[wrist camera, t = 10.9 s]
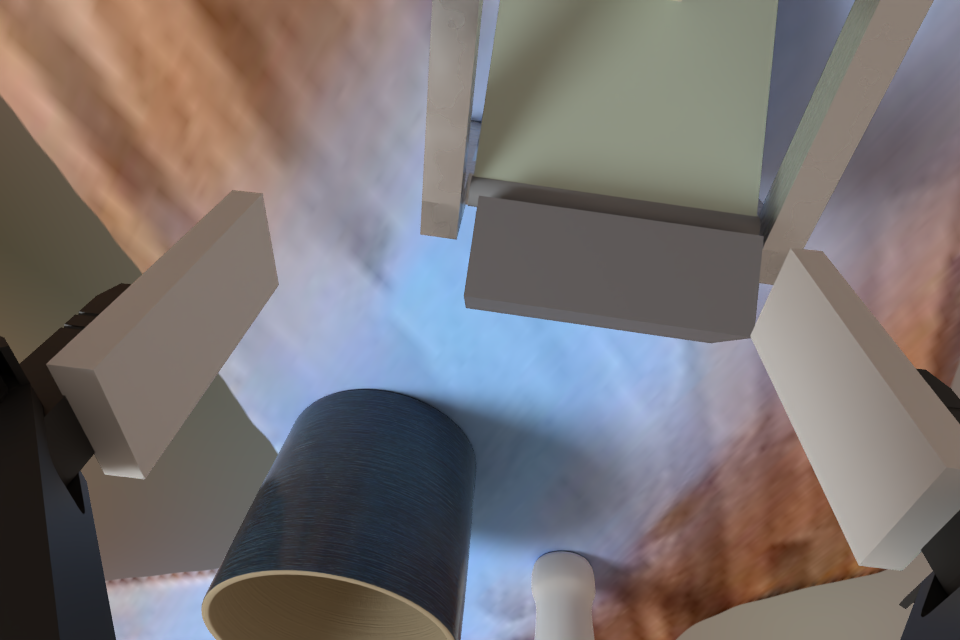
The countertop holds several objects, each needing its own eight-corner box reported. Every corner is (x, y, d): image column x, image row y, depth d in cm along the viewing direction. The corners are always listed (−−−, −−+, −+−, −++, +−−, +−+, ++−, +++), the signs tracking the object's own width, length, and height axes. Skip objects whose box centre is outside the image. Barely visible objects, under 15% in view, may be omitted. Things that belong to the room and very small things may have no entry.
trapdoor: (505, -28, 34) (510, -97, 29) (755, 7, 34) (804, -57, 29) (455, 306, 32) (451, 294, 27) (720, 344, 32) (766, 339, 27)
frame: (484, -222, 30) (447, -297, 19) (857, -171, 30) (1046, -215, 19) (453, 146, 42) (420, 234, 31) (719, 183, 42) (783, 286, 31)
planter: (262, 466, 67) (174, 643, 51) (332, 351, 55) (245, 535, 39) (423, 535, 73) (389, 713, 57) (518, 444, 61) (509, 638, 45)
